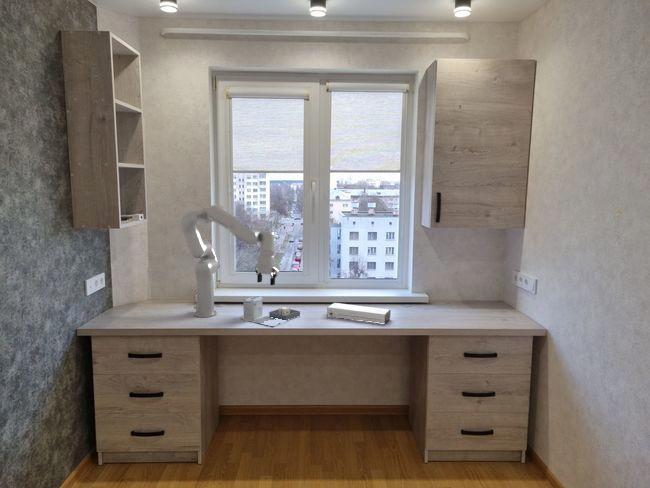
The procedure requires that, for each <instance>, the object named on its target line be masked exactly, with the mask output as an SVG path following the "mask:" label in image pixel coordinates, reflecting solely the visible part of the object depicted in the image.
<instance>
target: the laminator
mask: <svg viewBox="0 0 650 488" xmlns="http://www.w3.org/2000/svg"><path fill="white" fill-rule="evenodd" d="M326 311H327V312H326V313H327V315H326V316H327V317H328V316H329V317H328V318H331V317H336V318H335V319H338V318H344V319H343V320H346V319H353V320H363V321H372V322H379V323H385V324H386V323H387V322H388V321H389V320H390V319H391V311H392V310H391V309H387V308H381V307H372V306H363V305H357V304H349V303H348V304H347V303H340V302H333V303H331V304H330V305H328V306H327V308H326ZM353 320H352V321H353Z"/></svg>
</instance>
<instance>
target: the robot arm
mask: <svg viewBox="0 0 650 488" xmlns="http://www.w3.org/2000/svg"><path fill="white" fill-rule="evenodd" d="M213 222H214V223H215V224H217V225H219V226H221V227H223V228H224V229H226V230H227V231H228V232H229V233H230V234H232V235H233V236H234V237H235V238H237V239H239V240H240V241H242V242H243V243H246V244H247V245H255V244H258V243H260V248H259V255H258V258H257V265H255V266H253V267H254V270H255V273H256V276H257V280H256V281H257V283H262V281H263V275H269V276H270V279H269V280H270V282H269V284H270V286H275V284H276V278H277V277H278V275H279V272H280V271H279V269H278V268H277V267H276V259H275V258H276V257H275V256H274V255H275V232H274V231H273V230H260V229H249V228H247V227H246V226H245V225H243V224H242V223H241V222H240V221H239V219H238V217H237V216H236V215H234V214H232V213H230V212H228V211H227V209H226V208H225V206H223V205H221V204H215V205H214V204H213V205H210V206H209V207H205V208H201V209H192V210H191V209H190V210H188V211H186V213H184V215H182V217H181V220H180V229H181V231H182V234H183V236H184V239H185V242H186V244H187V247H188V250H189V252H190V253H189V254H190V255H191V257H193V258H194V259H200V260H199V261H198V262H197V263H196V264H195V266H194V275H195V282H196V283H195V284H196V286H195V287H196V291H195V293H196V305H195V306H194V307H193V309H194V310H195V312H193V315H194V316H195V317H198V318H209V317H214V316H216V315H217V314H218V311H217V310H215V290H214V289H215V286H214V283H215V282H214V277H213V274H215V273H216V272H217V271H218V270H219V261H218V258H217V255H216V254H215V253H216V252H215V250H214V248H213V245H212V244H211V243H210V242H209V241H208V240H205V239H202V238H203V237H202V236H201V232H200V231H199V229H198V227H197V226H198V225H203V224H208V223H213ZM262 274H263V275H262Z"/></svg>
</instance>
